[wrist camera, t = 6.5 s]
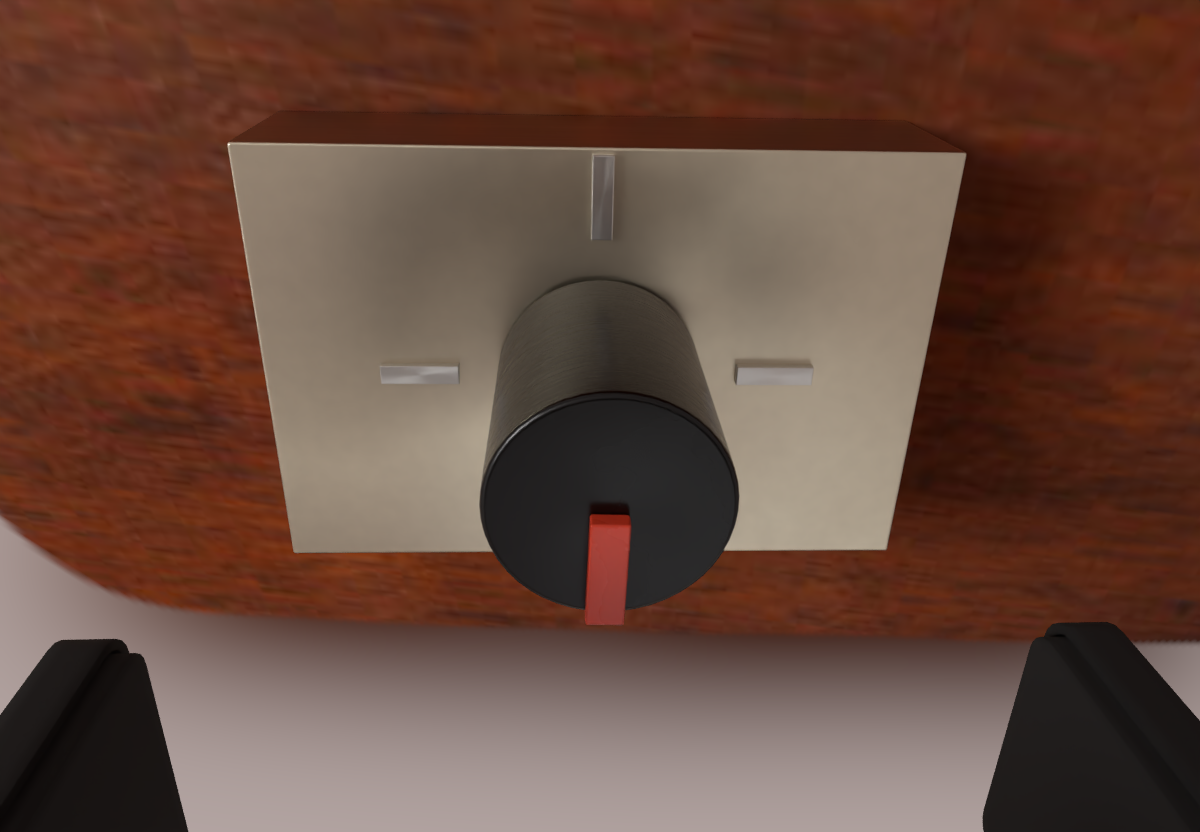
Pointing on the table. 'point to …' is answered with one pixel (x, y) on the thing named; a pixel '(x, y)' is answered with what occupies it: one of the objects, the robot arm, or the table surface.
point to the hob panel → (577, 254)
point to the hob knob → (605, 454)
